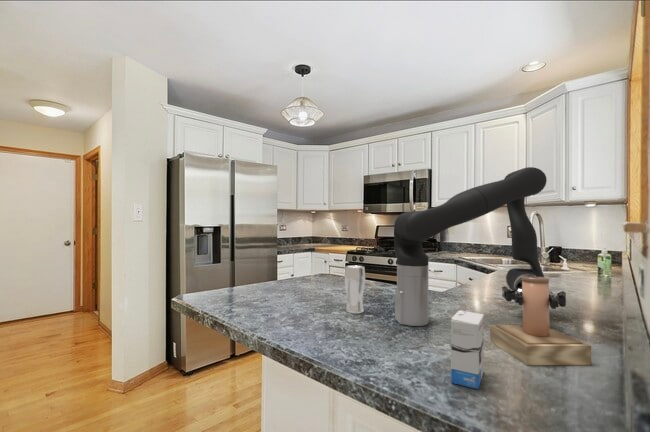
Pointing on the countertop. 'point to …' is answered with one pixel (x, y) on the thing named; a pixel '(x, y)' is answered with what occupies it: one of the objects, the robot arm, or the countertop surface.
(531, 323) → the canister
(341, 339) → the countertop surface
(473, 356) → the ink box
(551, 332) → the base block
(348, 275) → the beer glass
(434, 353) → the countertop surface
